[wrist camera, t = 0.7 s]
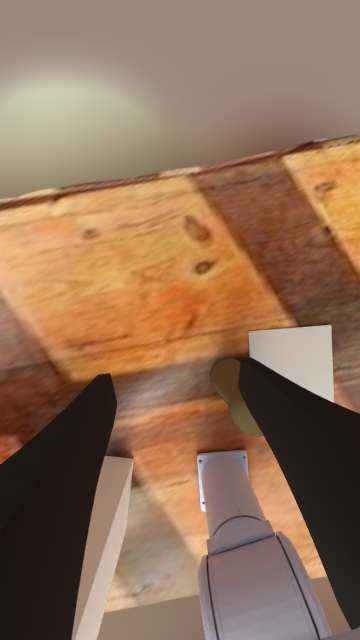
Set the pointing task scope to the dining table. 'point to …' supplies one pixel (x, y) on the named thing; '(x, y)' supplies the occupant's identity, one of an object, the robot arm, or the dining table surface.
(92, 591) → the milk
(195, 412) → the dining table surface
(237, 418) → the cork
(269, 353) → the mat
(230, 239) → the dining table surface
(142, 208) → the dining table surface
